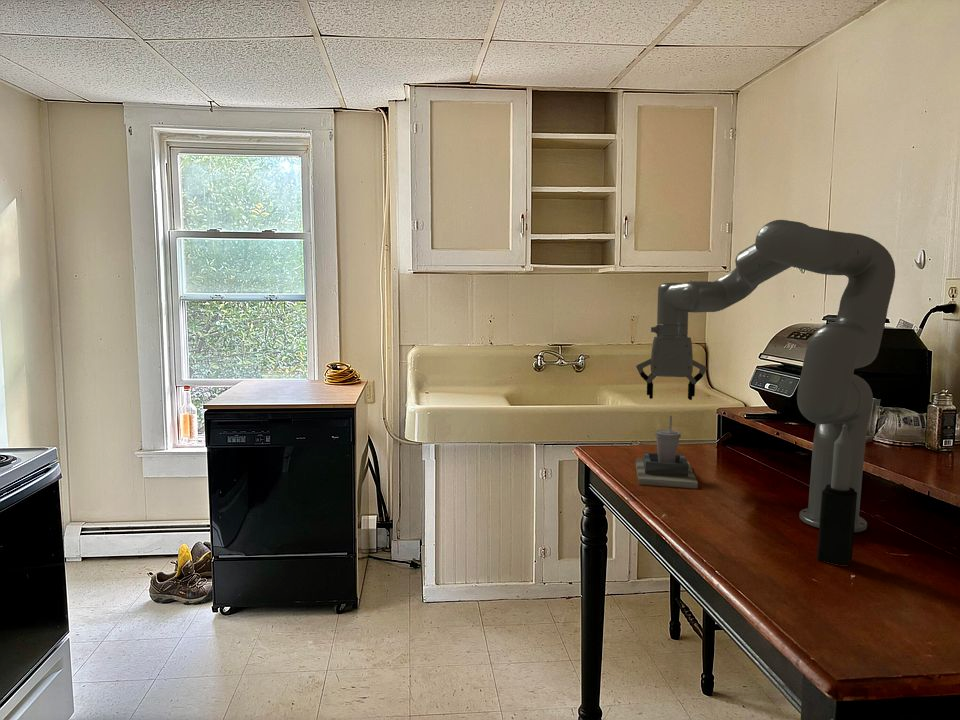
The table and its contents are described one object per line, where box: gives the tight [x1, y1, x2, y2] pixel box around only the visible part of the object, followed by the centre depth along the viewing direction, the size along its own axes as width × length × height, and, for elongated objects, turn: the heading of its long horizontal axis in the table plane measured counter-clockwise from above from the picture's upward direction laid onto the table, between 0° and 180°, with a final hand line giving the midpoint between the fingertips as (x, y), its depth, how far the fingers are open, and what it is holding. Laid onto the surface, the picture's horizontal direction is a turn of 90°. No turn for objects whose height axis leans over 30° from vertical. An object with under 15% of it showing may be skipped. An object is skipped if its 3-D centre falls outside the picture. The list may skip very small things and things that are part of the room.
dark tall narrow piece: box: [816, 425, 857, 566], centre depth 121 cm, size 5×5×25 cm
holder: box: [635, 451, 699, 490], centre depth 174 cm, size 20×14×4 cm
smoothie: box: [654, 415, 682, 463], centre depth 174 cm, size 6×6×14 cm
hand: (670, 398), depth 172 cm, fingers open, 9 cm apart
